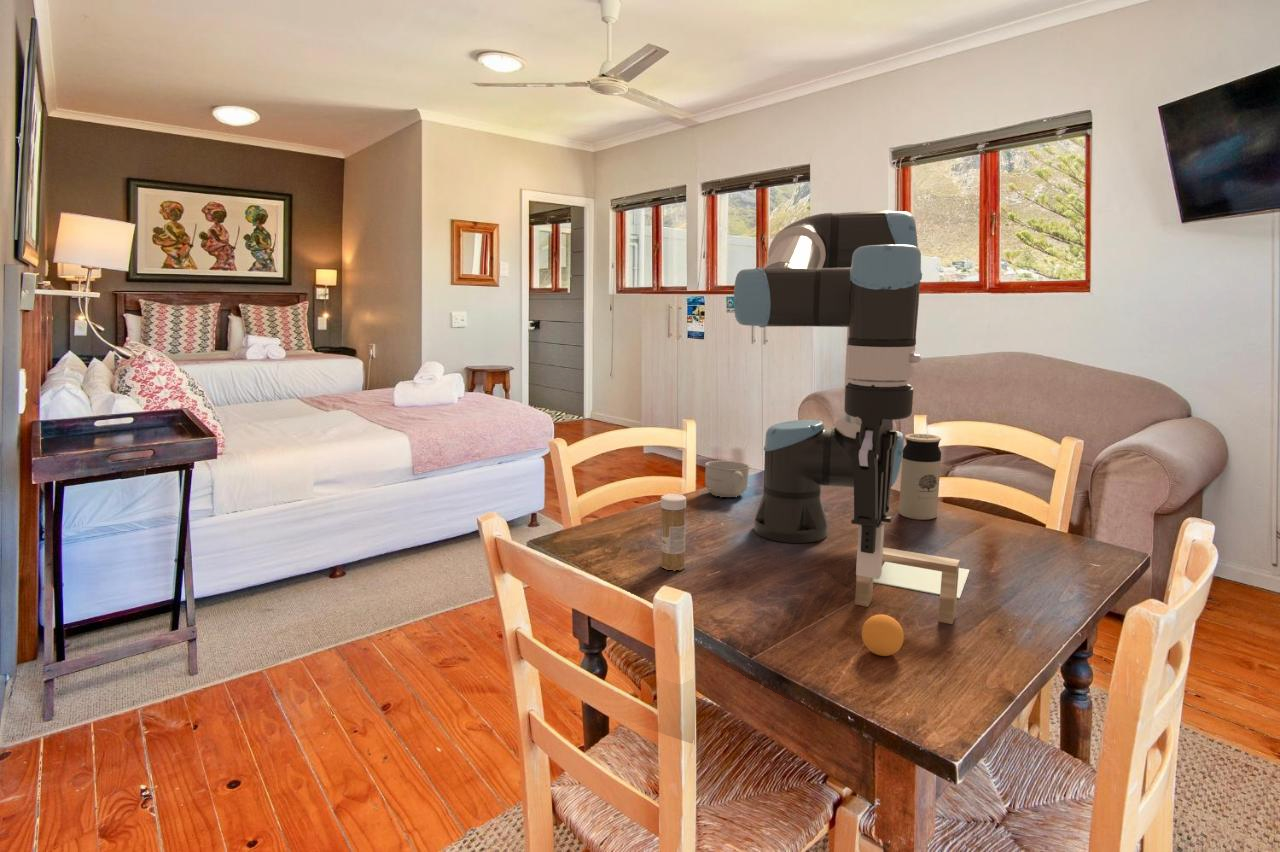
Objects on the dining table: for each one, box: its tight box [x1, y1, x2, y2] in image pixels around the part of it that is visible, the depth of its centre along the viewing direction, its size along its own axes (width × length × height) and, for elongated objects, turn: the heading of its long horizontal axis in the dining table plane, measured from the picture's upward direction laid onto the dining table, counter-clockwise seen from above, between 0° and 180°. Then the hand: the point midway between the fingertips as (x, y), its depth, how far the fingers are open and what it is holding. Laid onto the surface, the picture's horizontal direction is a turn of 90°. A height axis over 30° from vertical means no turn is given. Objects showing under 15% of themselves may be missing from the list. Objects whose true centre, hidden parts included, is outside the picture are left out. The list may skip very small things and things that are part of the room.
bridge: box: [854, 546, 960, 625], centre depth 113 cm, size 3×14×9 cm, turn 59°
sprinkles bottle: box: [660, 493, 687, 572], centre depth 131 cm, size 5×5×14 cm
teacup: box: [704, 460, 750, 498], centre depth 177 cm, size 14×11×8 cm
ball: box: [861, 613, 905, 657], centre depth 100 cm, size 6×6×6 cm
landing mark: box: [873, 562, 971, 600], centre depth 127 cm, size 14×14×1 cm
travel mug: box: [898, 433, 942, 521], centre depth 161 cm, size 8×8×18 cm
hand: (868, 574), depth 88 cm, fingers closed
